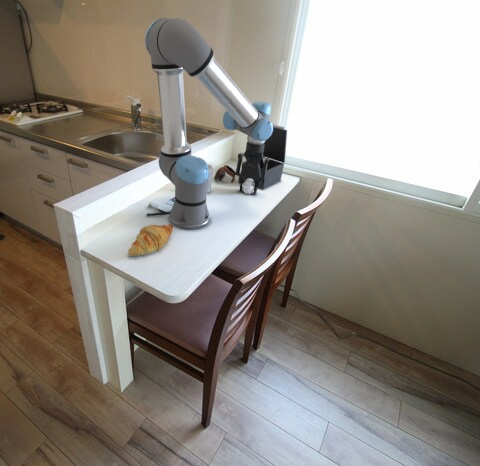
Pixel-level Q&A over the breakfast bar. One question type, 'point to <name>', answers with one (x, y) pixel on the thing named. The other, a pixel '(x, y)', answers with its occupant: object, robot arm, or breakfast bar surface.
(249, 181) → the muffin
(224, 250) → the breakfast bar surface
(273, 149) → the lid
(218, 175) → the broken terracotta ring
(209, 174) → the beverage can
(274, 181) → the open cubby box
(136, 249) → the croissant
